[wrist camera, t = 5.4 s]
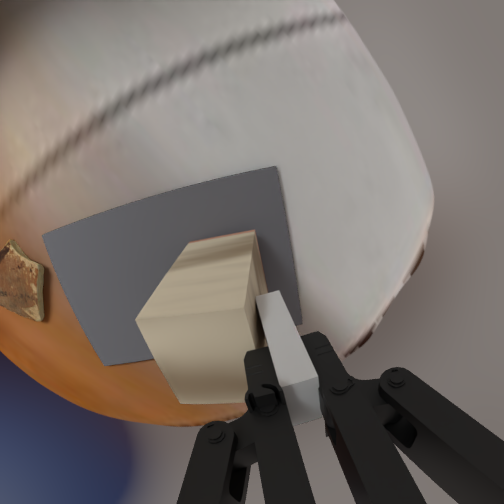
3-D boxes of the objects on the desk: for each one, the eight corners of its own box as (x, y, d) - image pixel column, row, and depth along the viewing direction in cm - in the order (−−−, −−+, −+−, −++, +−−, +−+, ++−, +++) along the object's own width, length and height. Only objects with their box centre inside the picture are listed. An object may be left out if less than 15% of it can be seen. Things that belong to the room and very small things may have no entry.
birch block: (189, 241, 21) (134, 319, 11) (254, 229, 20) (244, 307, 11) (210, 308, 23) (180, 403, 14) (269, 300, 22) (269, 400, 13)
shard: (-21, 284, 19) (-30, 290, 17) (-24, 219, 17) (-34, 224, 15) (47, 318, 22) (39, 327, 20) (48, 249, 20) (38, 256, 18)
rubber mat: (44, 233, 19) (41, 235, 18) (274, 166, 20) (276, 166, 20) (105, 362, 24) (104, 365, 23) (300, 320, 25) (302, 323, 25)
